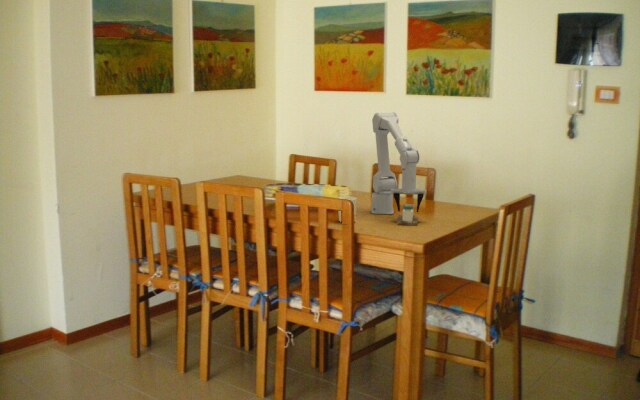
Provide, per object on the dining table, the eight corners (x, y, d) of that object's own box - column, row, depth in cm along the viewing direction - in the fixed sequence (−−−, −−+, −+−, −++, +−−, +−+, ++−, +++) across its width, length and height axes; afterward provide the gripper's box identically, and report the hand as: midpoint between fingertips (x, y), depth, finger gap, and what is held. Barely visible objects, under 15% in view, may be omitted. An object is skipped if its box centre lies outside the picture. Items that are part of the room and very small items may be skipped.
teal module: (402, 218, 286) (403, 206, 285) (403, 216, 290) (403, 204, 289) (412, 218, 285) (413, 206, 284) (412, 216, 289) (413, 204, 288)
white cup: (343, 219, 292) (343, 195, 291) (359, 221, 288) (360, 197, 287) (334, 222, 286) (334, 198, 284) (351, 224, 282) (351, 200, 280)
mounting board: (397, 225, 281) (397, 220, 281) (399, 217, 296) (399, 213, 296) (417, 225, 280) (417, 221, 279) (418, 217, 295) (418, 213, 295)
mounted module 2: (402, 220, 280) (402, 210, 280) (402, 218, 285) (403, 208, 284) (412, 221, 280) (412, 211, 279) (412, 218, 284) (412, 209, 283)
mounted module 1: (403, 215, 291) (403, 205, 290) (404, 213, 295) (404, 204, 295) (413, 215, 290) (413, 206, 290) (413, 213, 295) (413, 204, 294)
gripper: (390, 180, 282) (390, 212, 284) (426, 181, 280) (425, 213, 282) (391, 177, 289) (391, 209, 291) (426, 178, 287) (425, 210, 289)
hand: (408, 211), depth 287 cm, fingers open, 7 cm apart
